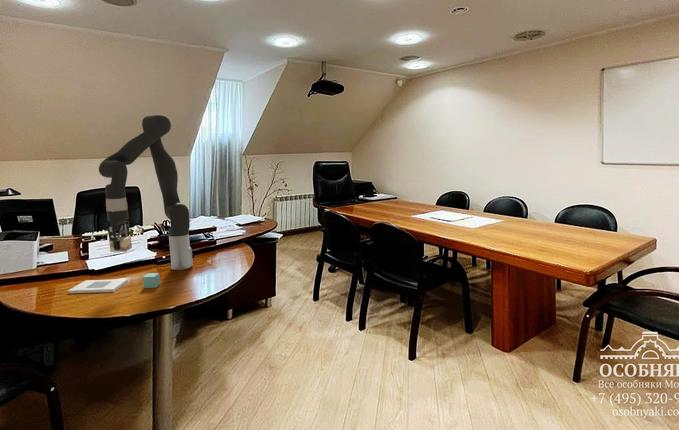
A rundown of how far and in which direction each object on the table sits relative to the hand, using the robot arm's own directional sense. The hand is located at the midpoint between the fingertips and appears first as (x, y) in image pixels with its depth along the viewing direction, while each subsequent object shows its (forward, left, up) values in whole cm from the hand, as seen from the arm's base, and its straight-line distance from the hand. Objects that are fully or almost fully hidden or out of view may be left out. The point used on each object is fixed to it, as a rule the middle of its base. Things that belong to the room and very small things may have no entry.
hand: (121, 247), depth 154 cm
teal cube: (-8, +8, -18) cm, 21 cm away
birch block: (0, 0, -1) cm, 1 cm away
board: (+6, -9, -18) cm, 21 cm away
